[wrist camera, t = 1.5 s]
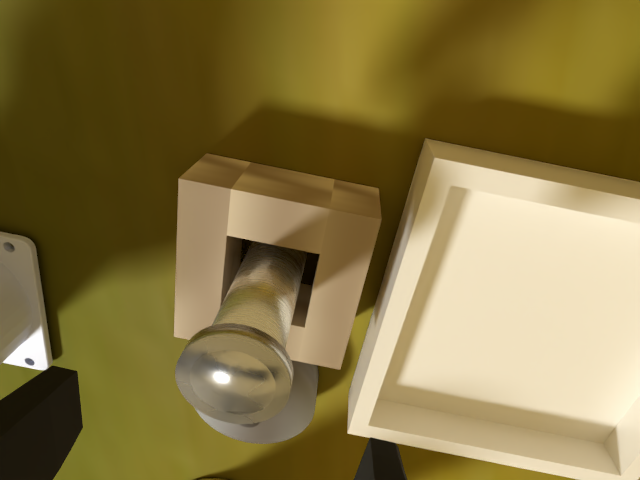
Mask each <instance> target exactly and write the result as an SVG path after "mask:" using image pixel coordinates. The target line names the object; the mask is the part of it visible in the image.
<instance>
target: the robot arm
mask: <svg viewBox="0 0 640 480" xmlns="http://www.w3.org/2000/svg"><path fill="white" fill-rule="evenodd" d="M10 243H11V244H12V245H13V246H14V247H12V246H11V245H10ZM52 361H53V360H52V354H51V347H50V340H49V333H48V326H47V320H46V313H45V306H44V299H43V293H42V286H41V279H40V272H39V265H38V259H37V252H36V247H35V244H34V243H33V242H32V240H30V239H29V238H27V237H24V236H20V235H15V234H10V233H5V232H0V364H1V363H2V362H3V363H8V364H13V365H18V366H23V367H28V368H33V369H38V370H45V371H43V372H42V373H40V374H39V375H37V376H36V377H34V378H33V379H31V380H30V381H28V382H27V383H25V384H24V385H22V386H21V387H19V388H18V389H16V390H15V391H13V392H12V393H10V394H9V395H8V396H6V397H5V398H3V399H2V400H0V480H53V478H54V477H55V475H56V474H57V472H58V471H59V469H60V468H61V466H62V464H63V462H64V461H65V459H66V457H67V455H68V454H69V452H70V450H71V448H72V446H73V445H74V443H75V441H76V439H77V437H78V435H79V433H80V432H81V430H82V428H83V425H82V415H81V405H80V394H79V384H78V374H77V371H74V370H70V369H65V368H61V367H56V366H51V367H49V366H50V365H51V364H52ZM354 480H407V477H406V474H405V471H404V467H403V464H402V460H401V457H400V453H399V449H398V446H397V445H396V443H394V442H389V441H385V440H380V439H376V438H372V437H370V439H369V441H368V444H367V447H366V449H365V452H364V454H363V457H362V460H361V462H360V465H359V467H358V470H357V473H356V475H355V478H354Z"/></svg>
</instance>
